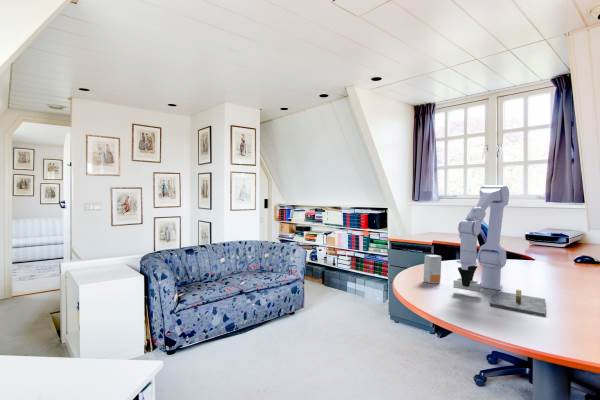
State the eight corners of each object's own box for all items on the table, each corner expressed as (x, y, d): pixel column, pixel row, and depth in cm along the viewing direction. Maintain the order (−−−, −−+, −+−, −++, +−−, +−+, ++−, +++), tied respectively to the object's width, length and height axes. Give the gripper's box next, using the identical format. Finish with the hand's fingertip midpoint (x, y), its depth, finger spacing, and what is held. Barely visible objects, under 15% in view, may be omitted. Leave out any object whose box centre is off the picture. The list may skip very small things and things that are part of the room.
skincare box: (429, 283, 146) (430, 256, 146) (423, 281, 151) (424, 254, 150) (440, 283, 148) (441, 256, 148) (434, 280, 152) (435, 254, 152)
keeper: (496, 293, 135) (496, 280, 134) (545, 301, 125) (545, 288, 125) (489, 305, 118) (490, 292, 118) (545, 316, 109) (546, 301, 109)
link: (453, 287, 132) (453, 280, 132) (456, 285, 136) (456, 277, 136) (478, 292, 126) (479, 284, 126) (480, 289, 130) (481, 281, 130)
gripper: (460, 247, 139) (459, 279, 139) (453, 251, 127) (452, 286, 127) (479, 249, 135) (478, 282, 135) (473, 254, 123) (472, 290, 123)
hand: (467, 284), depth 131 cm, fingers closed on link, 5 cm apart
